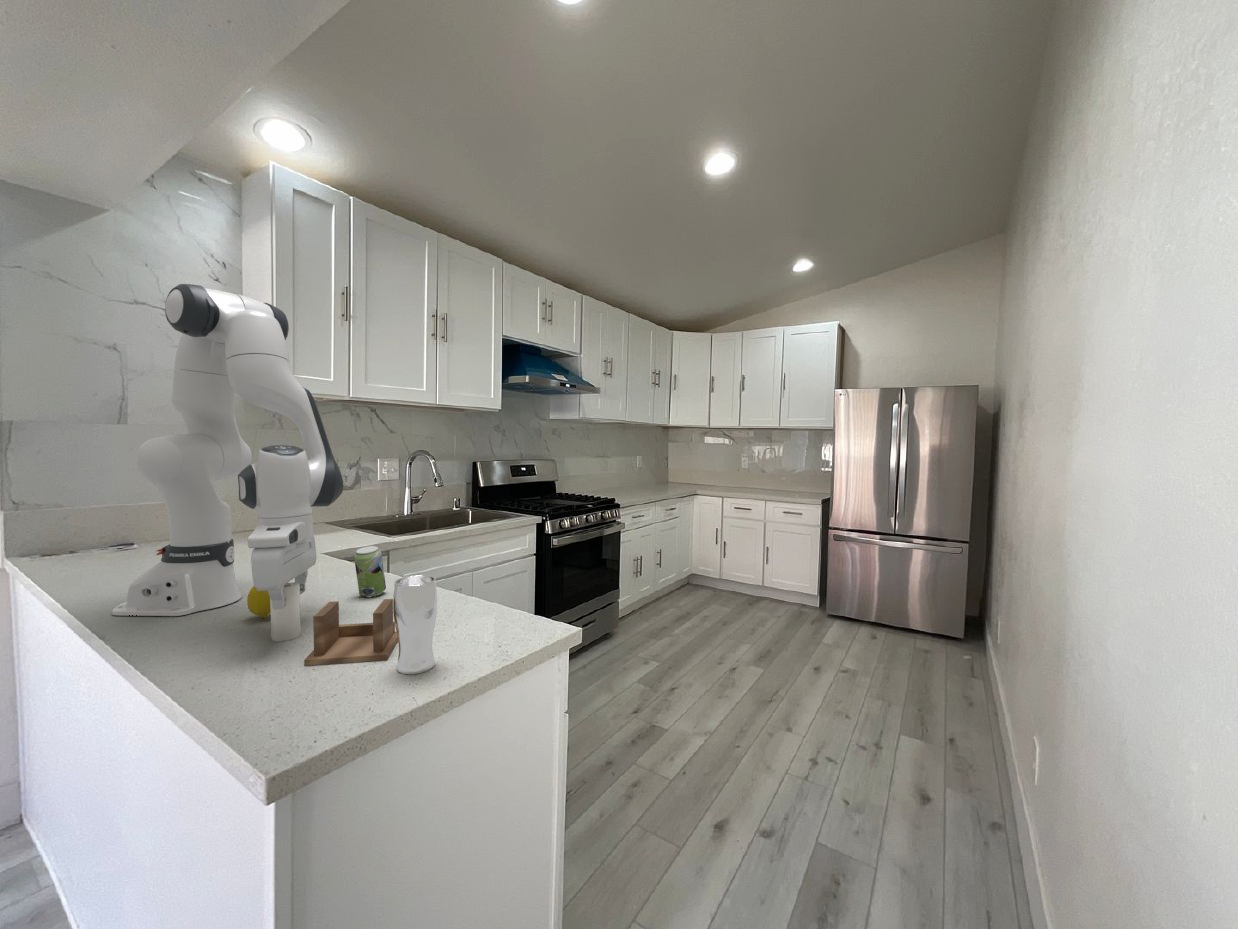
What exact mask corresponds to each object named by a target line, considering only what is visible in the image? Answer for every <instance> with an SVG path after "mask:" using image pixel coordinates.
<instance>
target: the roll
mask: <svg viewBox="0 0 1238 929" xmlns="http://www.w3.org/2000/svg"><path fill="white" fill-rule="evenodd" d="M283 594H284V597H286V606H285V607H284V608H282V609H277V610H274V609H273V606H272V600H271V598H270V608H271V613H270V634H271V635H270V637H271V638H270V640H271V639H272V640H273V641H272V640H271V641H272V642H287V641H291V639H292V640H294V638H295V639H297V638H299V637H300V636H301V634H302V633H301V630H302V629H301V598H300V597H301V596H300V595H301V594H300V584H299V583H295V582H288V583H286V584H285V585H284V590H283Z"/></svg>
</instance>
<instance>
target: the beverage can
mask: <svg viewBox="0 0 1238 929" xmlns="http://www.w3.org/2000/svg"><path fill="white" fill-rule="evenodd" d="M353 558H354V566H355V573H356V580H357V587H358V594H359V595H360V596H361V597H362V596H363V597H364V596H374V597H376V596H375V595H377V596H380V595H381V594H383V592H384V591H385V590H386V589H387V585H386V578H385V577H386V576H385V570H384V562H383V554H382V550H381V549H379V546H376V545H367V546H363V547H362V546H361V547H360V548H358V549H356V551H355V554H354V557H353Z"/></svg>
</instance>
